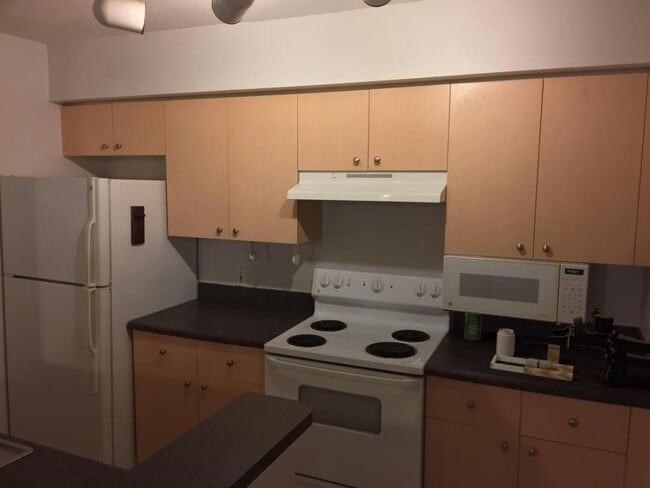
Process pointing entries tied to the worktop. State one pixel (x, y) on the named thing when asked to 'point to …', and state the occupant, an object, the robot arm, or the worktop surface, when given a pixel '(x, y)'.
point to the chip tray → (508, 367)
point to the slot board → (552, 371)
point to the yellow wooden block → (553, 353)
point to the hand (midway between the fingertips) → (549, 334)
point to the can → (505, 342)
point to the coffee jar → (473, 326)
